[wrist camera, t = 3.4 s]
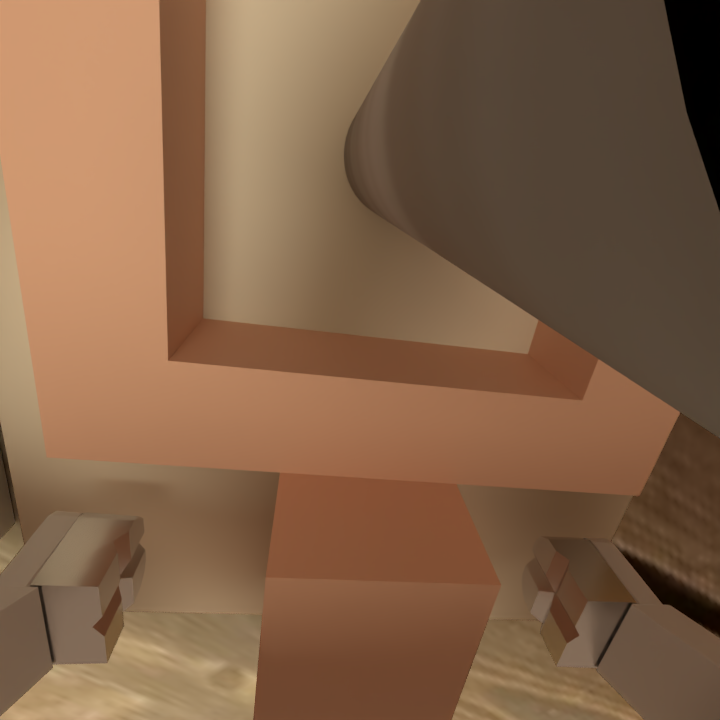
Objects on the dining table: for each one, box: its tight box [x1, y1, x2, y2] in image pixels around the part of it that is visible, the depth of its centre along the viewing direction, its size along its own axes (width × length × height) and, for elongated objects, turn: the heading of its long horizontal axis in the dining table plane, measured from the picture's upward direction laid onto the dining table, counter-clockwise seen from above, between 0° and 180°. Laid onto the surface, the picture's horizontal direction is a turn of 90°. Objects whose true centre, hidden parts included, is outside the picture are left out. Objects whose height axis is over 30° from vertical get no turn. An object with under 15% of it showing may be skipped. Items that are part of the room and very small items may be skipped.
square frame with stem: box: [0, 0, 680, 720], centre depth 6 cm, size 10×15×4 cm, turn 172°
